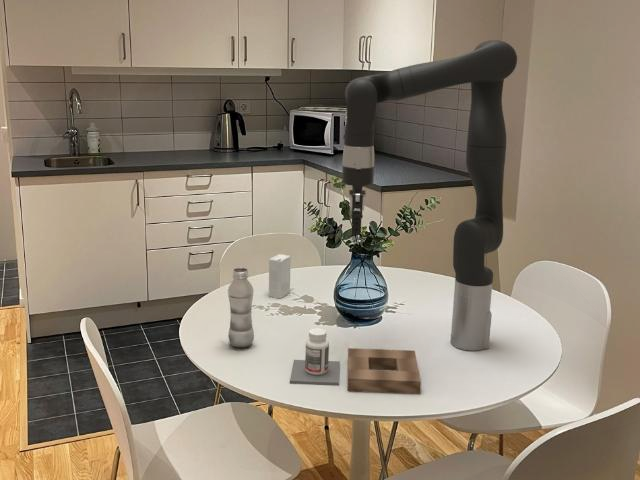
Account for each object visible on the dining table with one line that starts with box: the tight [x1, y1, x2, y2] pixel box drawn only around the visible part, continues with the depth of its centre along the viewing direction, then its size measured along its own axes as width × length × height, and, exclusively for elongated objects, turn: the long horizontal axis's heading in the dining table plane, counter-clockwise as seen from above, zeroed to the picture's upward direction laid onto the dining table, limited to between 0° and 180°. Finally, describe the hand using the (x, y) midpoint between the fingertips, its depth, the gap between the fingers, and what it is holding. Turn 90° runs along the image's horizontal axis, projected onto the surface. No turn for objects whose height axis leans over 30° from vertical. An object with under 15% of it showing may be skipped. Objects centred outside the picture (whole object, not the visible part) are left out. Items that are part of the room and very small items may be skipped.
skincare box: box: [268, 253, 292, 299], centre depth 213 cm, size 6×4×12 cm
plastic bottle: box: [227, 267, 255, 348], centre depth 176 cm, size 6×7×20 cm
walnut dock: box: [347, 347, 422, 395], centre depth 164 cm, size 16×16×3 cm
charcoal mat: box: [289, 359, 341, 386], centre depth 165 cm, size 11×11×1 cm
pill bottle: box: [304, 327, 330, 375], centre depth 164 cm, size 5×5×10 cm
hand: (356, 229), depth 174 cm, fingers open, 8 cm apart
